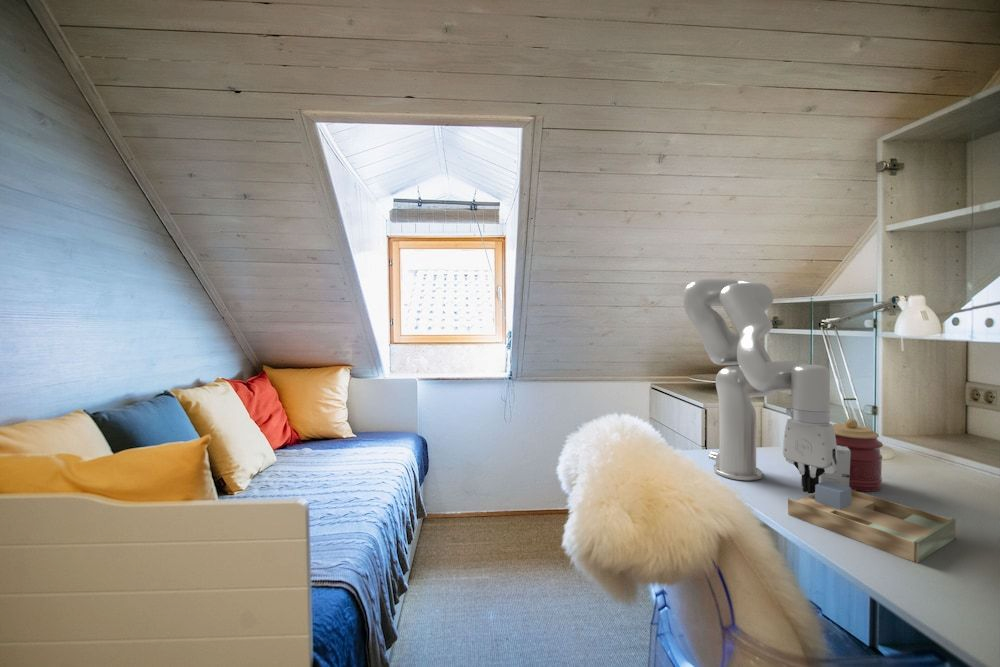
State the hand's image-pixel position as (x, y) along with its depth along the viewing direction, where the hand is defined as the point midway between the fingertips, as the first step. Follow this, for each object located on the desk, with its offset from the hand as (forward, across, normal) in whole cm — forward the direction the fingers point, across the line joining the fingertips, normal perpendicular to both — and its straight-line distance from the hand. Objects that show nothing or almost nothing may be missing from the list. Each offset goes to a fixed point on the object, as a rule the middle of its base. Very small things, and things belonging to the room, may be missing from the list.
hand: (810, 491), depth 106 cm
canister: (+4, -2, +25) cm, 25 cm away
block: (+1, +5, 0) cm, 5 cm away
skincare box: (+4, -1, +14) cm, 14 cm away
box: (+4, +11, 0) cm, 12 cm away
